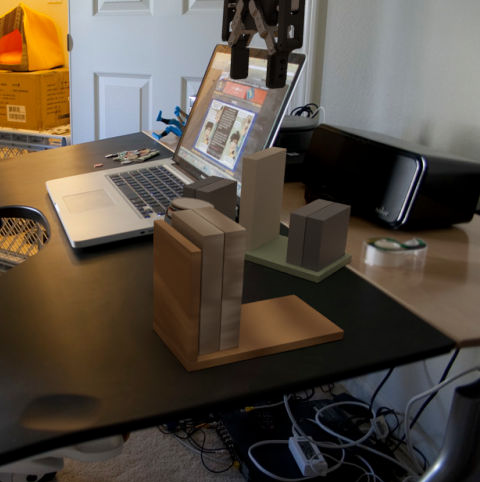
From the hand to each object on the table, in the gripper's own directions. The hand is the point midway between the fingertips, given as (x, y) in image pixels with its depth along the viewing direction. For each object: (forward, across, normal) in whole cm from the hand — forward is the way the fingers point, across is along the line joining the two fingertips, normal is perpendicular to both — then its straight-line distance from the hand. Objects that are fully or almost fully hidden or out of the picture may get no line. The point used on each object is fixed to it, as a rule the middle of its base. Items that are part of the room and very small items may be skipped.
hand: (256, 83), depth 77 cm
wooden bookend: (+24, -16, +9) cm, 30 cm away
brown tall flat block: (+23, +4, -4) cm, 24 cm away
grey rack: (+24, +4, -4) cm, 25 cm away
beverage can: (+24, -5, +11) cm, 27 cm away
